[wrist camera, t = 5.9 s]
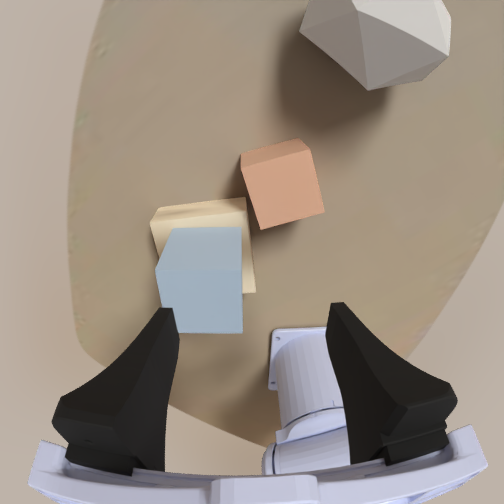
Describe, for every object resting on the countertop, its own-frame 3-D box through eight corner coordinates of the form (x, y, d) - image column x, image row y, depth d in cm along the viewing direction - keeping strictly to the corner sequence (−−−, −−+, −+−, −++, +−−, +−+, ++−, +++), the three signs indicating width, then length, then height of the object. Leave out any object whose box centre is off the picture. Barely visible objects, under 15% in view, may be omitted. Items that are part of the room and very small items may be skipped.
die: (417, 85, 18) (496, 13, 9) (358, 139, 17) (465, 41, 7) (337, 14, 18) (388, -74, 9) (260, 50, 16) (301, -76, 7)
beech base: (254, 269, 25) (255, 292, 23) (177, 276, 26) (171, 299, 23) (245, 195, 22) (246, 211, 20) (160, 205, 22) (149, 222, 20)
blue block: (242, 283, 22) (242, 333, 18) (180, 284, 22) (168, 332, 18) (241, 226, 20) (241, 269, 16) (172, 228, 20) (154, 270, 16)
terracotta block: (311, 190, 22) (324, 212, 18) (257, 205, 22) (260, 229, 19) (297, 137, 20) (310, 149, 16) (240, 153, 20) (240, 168, 17)
